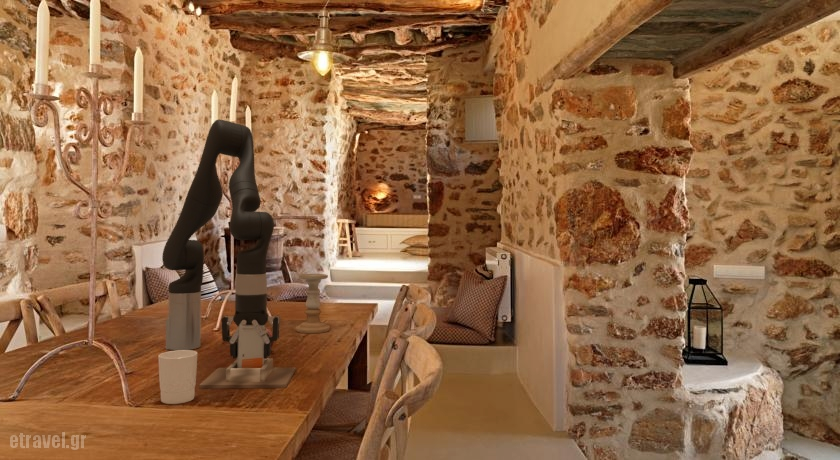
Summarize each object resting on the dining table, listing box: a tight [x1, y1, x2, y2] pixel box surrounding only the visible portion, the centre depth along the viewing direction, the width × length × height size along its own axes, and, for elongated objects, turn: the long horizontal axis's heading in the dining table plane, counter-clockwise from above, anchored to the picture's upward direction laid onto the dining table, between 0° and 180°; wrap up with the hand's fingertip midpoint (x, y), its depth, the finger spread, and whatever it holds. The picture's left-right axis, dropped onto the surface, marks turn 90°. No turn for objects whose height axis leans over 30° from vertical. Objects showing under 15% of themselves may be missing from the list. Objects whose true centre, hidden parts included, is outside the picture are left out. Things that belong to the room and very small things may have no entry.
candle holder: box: [295, 273, 331, 334], centre depth 205 cm, size 12×12×20 cm
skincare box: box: [236, 324, 266, 368], centre depth 140 cm, size 6×4×12 cm
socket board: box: [198, 357, 297, 390], centre depth 140 cm, size 20×16×4 cm
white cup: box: [157, 349, 198, 405], centre depth 124 cm, size 8×8×10 cm
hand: (250, 357), depth 140 cm, fingers closed on skincare box, 7 cm apart
